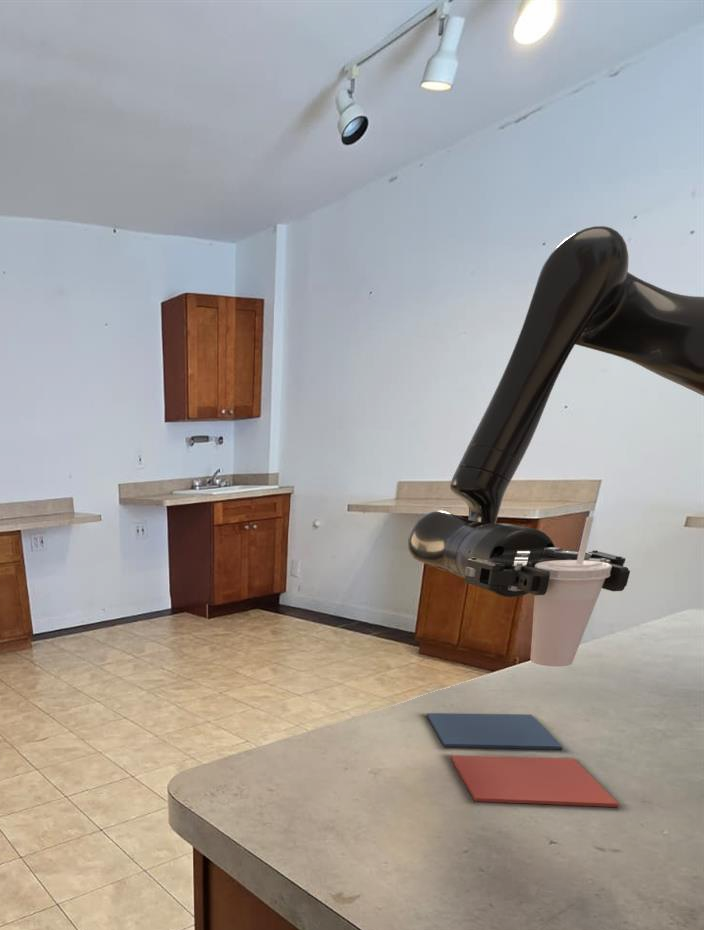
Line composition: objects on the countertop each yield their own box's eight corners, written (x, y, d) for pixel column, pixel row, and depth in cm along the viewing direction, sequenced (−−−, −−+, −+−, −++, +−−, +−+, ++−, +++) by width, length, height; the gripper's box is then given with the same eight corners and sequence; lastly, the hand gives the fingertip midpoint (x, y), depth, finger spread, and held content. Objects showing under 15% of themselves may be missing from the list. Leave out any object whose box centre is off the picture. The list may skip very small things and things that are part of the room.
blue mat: (530, 717, 86) (531, 714, 86) (561, 749, 76) (562, 746, 76) (426, 715, 89) (427, 713, 88) (444, 746, 79) (444, 743, 79)
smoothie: (595, 671, 62) (634, 519, 56) (520, 669, 64) (550, 522, 58) (579, 653, 68) (613, 512, 62) (510, 651, 70) (537, 515, 64)
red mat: (573, 761, 73) (574, 758, 73) (617, 807, 63) (618, 803, 63) (450, 758, 76) (451, 755, 76) (474, 801, 66) (475, 798, 66)
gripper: (443, 528, 74) (512, 545, 59) (573, 520, 73) (676, 535, 58) (434, 594, 78) (497, 625, 63) (558, 587, 76) (653, 617, 61)
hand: (583, 582), depth 60 cm, fingers closed on smoothie, 6 cm apart
